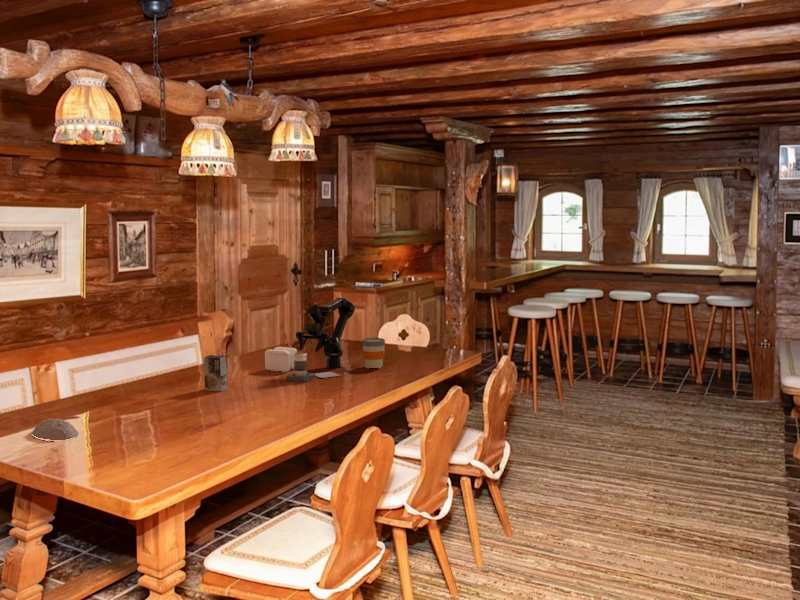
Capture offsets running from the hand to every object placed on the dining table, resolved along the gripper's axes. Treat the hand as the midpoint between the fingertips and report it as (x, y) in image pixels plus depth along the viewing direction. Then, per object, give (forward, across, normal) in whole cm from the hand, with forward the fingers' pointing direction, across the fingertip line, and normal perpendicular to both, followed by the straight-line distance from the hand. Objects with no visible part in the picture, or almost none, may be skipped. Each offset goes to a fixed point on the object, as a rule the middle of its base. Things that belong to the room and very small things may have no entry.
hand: (307, 351), depth 396 cm
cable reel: (+15, 0, +3) cm, 15 cm away
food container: (+99, -34, -84) cm, 134 cm away
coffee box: (+40, -24, -22) cm, 51 cm away
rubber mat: (+6, +7, +13) cm, 16 cm away
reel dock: (+15, 0, +3) cm, 15 cm away
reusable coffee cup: (-15, +20, +35) cm, 43 cm away
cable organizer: (+4, -22, +16) cm, 27 cm away
